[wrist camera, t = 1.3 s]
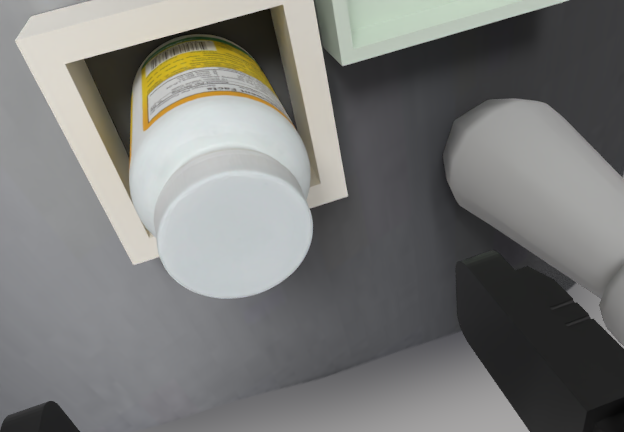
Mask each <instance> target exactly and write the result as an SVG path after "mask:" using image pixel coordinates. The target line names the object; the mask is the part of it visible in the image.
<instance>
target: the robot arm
mask: <svg viewBox="0 0 624 432" xmlns="http://www.w3.org/2000/svg"><path fill="white" fill-rule="evenodd" d="M455 272H456V300H457V316H458V321H459V324H460V327H461V330H462V332H463V334H464V336H465V338H466V340H467V342H468V343H469V345H470V346H471V348H472V349H473V350H474V352H475V353H476V355H477V356H478V358H479V359H480V360H481V362H482V363H483V365H484V366H485V368H486V369H487V371H488V372H489V373H490V375H491V376H492V378H493V379H494V381H495V382H496V383H497V385H498V386H499V388H500V389H501V391H502V392H503V393H504V395H505V396H506V398H507V399H508V401H509V402H510V404H511V405H512V407H513V408H514V409H515V411H516V412H517V414H518V415H519V417H520V418H521V419H522V421H523V422H524V424H525V425H526V427H527V428H528V430H529V431H530V432H624V349H623V348H622V347H621V346H620V345H619V344H618V343H617V342H616V341H615V340H614V339H613V338H612V337H611V336H610V335H609V334H608V333H607V332H606V331H605V330H604V329H603V328H602V327H601V326H600V325H599V324H598V323H597V322H596V321H595V320H594V319H590V317H589V315H588V313H587V312H586V311H585V310H584V309H583V308H582V307H581V306H580V305H579V304H578V303H575V302H574V301H573V298H572V297H571V296H570V295H569V294H568V293H567V292H566V291H565V290H564V289H563V288H562V287H561V286H560V285H559V284H558V283H557V282H556V281H555V280H554V279H552V278H550V277H548V276H546V275H544V274H542V273H540V272H538V271H536V270H534V269H532V268H530V267H528V266H527V267H524V268H521V269H518V270H514V269H513V268H512V267H511V266H510V265H509V263H508V262H507V261H506V260H505V259H504V258H503V257H502V256H501V255H500V254H499V253H498V252H496V251H493V250H491V251H488V252H485V253H482V254H480V255H477V256H474V257H471V258H468V259H465V260H462V261H459V262H457V264H456V268H455ZM0 432H80V431H79V430H78V429H77V427H76V426H75V425H74V424H73V422H72V421H71V420H70V419H69V417H68V416H67V415H66V414H65V413H64V411H63V410H62V409H61V408H60V406H59V405H58V404H57V403H55V402H53V401H49V402H46V403H43V404H40V405H37V406H34V407H31V408H28V409H25V410H23V411H20V412H17V413H14V414H11V415H8V416H7V417H6V418H5V419H4V421H3V423H2V426H1V430H0Z"/></svg>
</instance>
